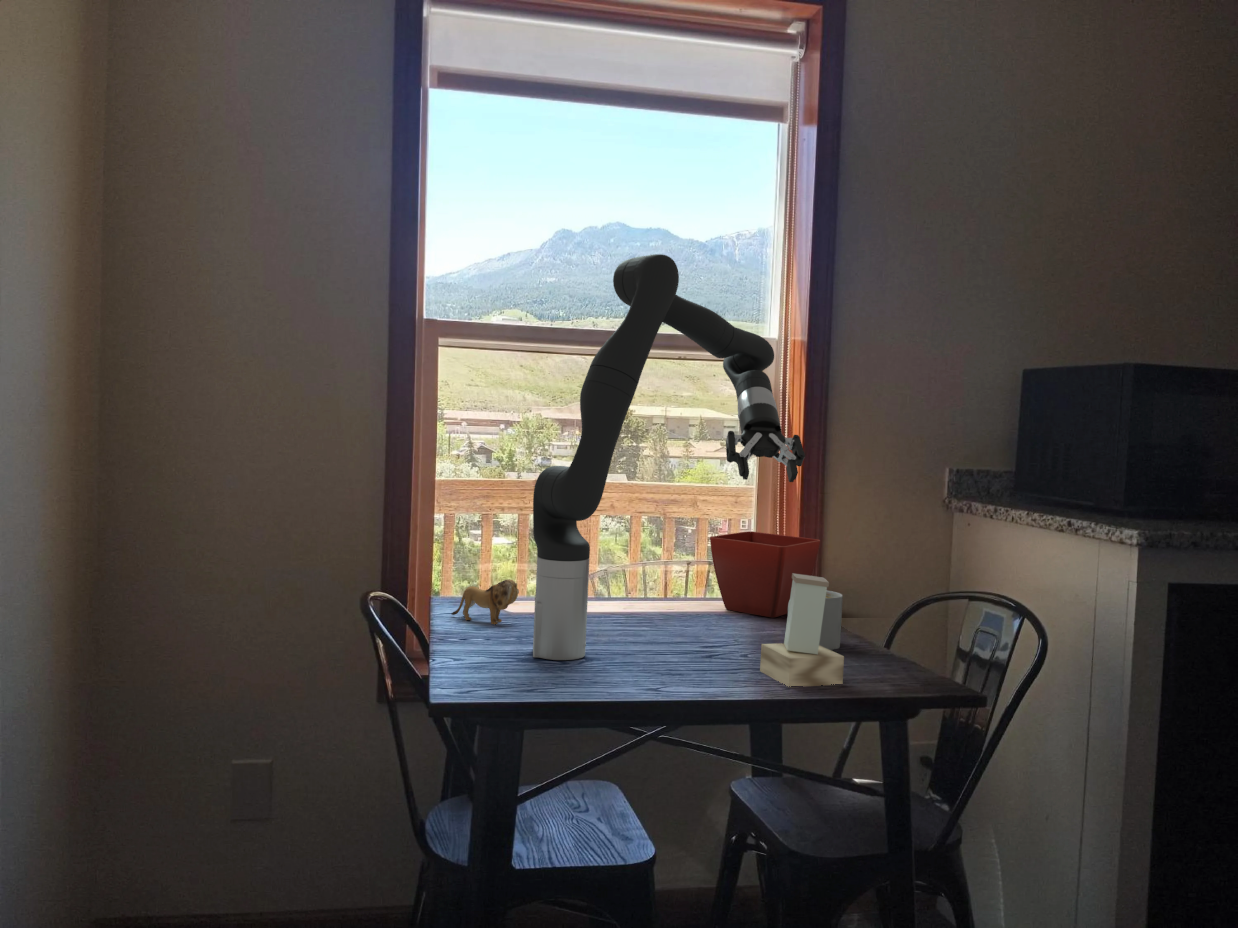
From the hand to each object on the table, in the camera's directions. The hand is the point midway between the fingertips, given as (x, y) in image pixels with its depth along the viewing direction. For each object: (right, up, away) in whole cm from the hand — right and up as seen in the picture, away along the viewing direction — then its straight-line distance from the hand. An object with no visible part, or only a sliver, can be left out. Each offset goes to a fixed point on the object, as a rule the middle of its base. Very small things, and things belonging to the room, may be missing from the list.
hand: (769, 477), depth 171 cm
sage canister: (+3, -29, -13) cm, 31 cm away
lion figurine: (-54, -30, +21) cm, 66 cm away
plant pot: (+6, -31, +46) cm, 56 cm away
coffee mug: (+10, -33, +15) cm, 38 cm away
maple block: (+3, -34, -13) cm, 36 cm away
